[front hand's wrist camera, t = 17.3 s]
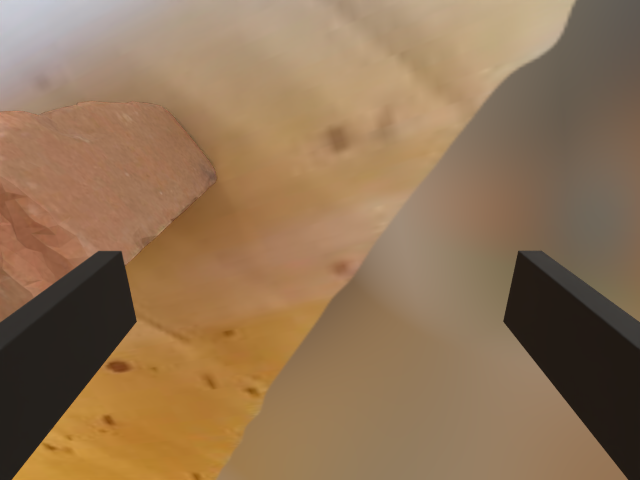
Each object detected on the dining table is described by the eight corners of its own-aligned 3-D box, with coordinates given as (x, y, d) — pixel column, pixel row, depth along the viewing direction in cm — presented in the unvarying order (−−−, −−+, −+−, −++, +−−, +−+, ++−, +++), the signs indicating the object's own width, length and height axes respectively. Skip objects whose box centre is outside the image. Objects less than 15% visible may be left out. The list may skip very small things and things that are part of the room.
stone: (97, 270, 50) (-141, 463, 23) (28, 202, 46) (-343, 337, 20) (225, 176, 46) (114, 280, 19) (160, 95, 42) (-80, 86, 16)
